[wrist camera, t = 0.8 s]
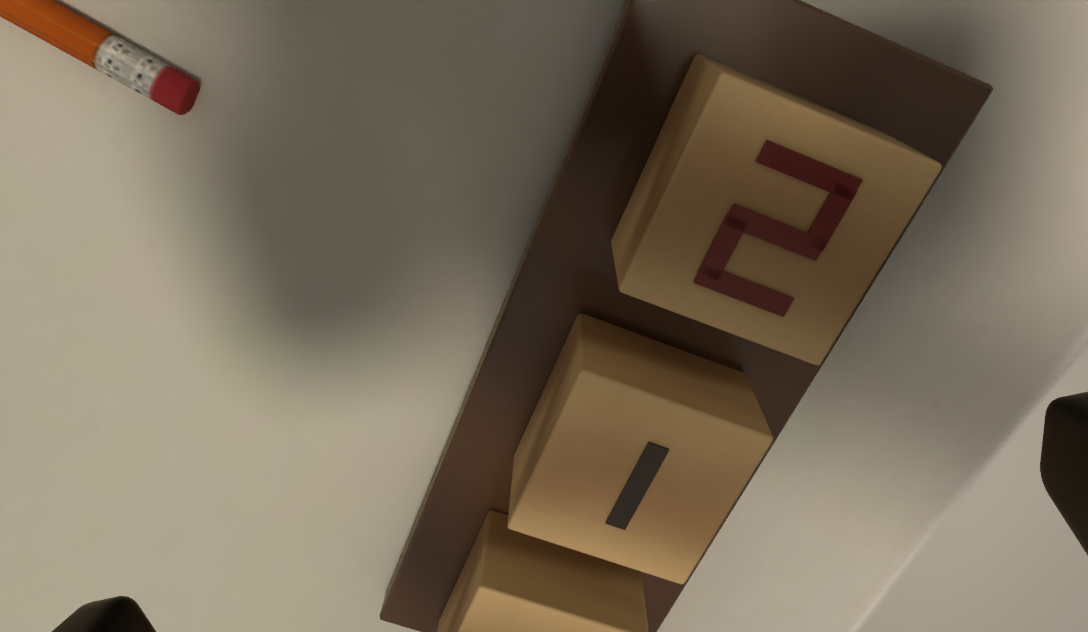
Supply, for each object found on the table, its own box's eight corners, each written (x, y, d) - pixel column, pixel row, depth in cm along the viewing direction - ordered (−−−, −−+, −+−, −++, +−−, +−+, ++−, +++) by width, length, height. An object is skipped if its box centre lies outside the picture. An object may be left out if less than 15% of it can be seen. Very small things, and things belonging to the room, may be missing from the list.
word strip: (651, -63, 16) (676, -69, 13) (974, 80, 18) (1084, 114, 14) (385, 595, 24) (353, 709, 21) (618, 666, 26) (627, 786, 22)
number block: (695, 52, 16) (722, 71, 14) (884, 132, 17) (947, 166, 14) (609, 242, 18) (617, 294, 16) (783, 309, 19) (821, 369, 16)
